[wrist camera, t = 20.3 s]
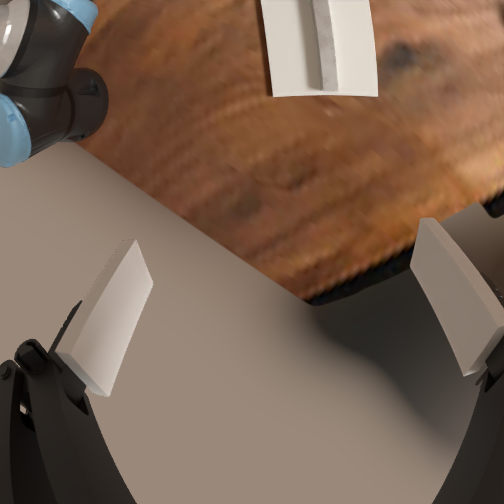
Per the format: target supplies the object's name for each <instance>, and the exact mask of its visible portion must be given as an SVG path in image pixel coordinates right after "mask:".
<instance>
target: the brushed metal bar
mask: <svg viewBox="0 0 504 504" xmlns="http://www.w3.org/2000/svg"><path fill="white" fill-rule="evenodd" d="M310 4H311V11H312V17H313V24H314V31H315V39H316V47H317V56H318V65H319V76H320V87H321V91H338V78H337V67H336V56H335V47H334V39H333V31H332V23H331V16H330V10H329V4H328V0H310Z"/></svg>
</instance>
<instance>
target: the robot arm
mask: <svg viewBox="0 0 504 504" xmlns="http://www.w3.org/2000/svg"><path fill="white" fill-rule="evenodd" d="M97 14H98V9H97V7H96V5H95V4H94V3H93V2H91V1H89V0H13V1H11V2H10V3H9V4H7V5H0V167H4V168H7V167H11V166H13V165H15V164H17V163H19V162H24V161H25V160H27V159H28V158H30V157H32V156H33V155H35V154H37V153H39V152H40V151H42V150H44V149H46V148H48V147H49V146H51V145H53V144H55V143H57V142H77V141H81V140H83V139H85V138H87V137H89V136H91V135H92V134H94V133H95V132H96V131H97V130H98V129H99V128H100V126H101V125H102V123H103V121H104V119H105V117H106V114H107V110H108V91H107V87H106V85H105V82H104V81H103V79H102V78H101V76H100V75H99V74H98V73H97V72H95V71H93V70H91V69H88V68H75V69H73V67H74V65H75V63H76V60H77V58H78V55H79V53H80V51H81V49H82V46H83V44H84V42H85V40H86V38H87V36H88V35H89V34H90V32H91V27H92V25H93V23H94V21H95V19H96V17H97ZM410 267H411V269H412V271H413V272H414V274H415V276H416V278H417V280H418V281H419V283H420V285H421V287H422V289H423V290H424V292H425V294H426V296H427V298H428V299H429V302H430V303H431V305H432V307H433V309H434V311H435V313H436V315H437V317H438V319H439V321H440V323H441V325H442V327H443V329H444V332H445V334H446V336H447V338H448V340H449V342H450V345H451V347H452V349H453V351H454V354H455V356H456V359H457V361H458V363H459V366H460V368H461V371H462V373H463V376H466V375H468V374H472V373H474V372H477V371H478V370H479V369H480V368H481V367H482V365H483V364H484V363H485V362H486V364H487V367H488V368H487V370H486V371H485V372H484V373H483V374H482V375H481V377H480V378H479V379H478V380H477V382H476V385H478V384H479V383H480V382H481V381H482V380H483V381H482V385H481V388H480V392H479V396H478V399H477V403H476V406H475V409H474V412H473V415H472V418H471V421H470V424H469V427H468V429H467V432H466V435H465V437H464V440H463V442H462V445H461V447H460V450H459V452H458V454H457V456H456V459H455V461H454V463H453V465H452V468H451V469H450V472H449V473H448V476H447V477H446V479H445V482H444V484H443V485H442V487H441V489H440V491H439V493H438V495H437V496H436V498H435V500H434V501H433V503H432V504H504V298H502V295H501V293H500V292H499V291H498V290H497V287H496V286H495V285H494V283H493V282H492V281H491V280H490V279H489V278H488V277H487V276H486V275H484V274H483V273H479V272H478V271H477V269H476V268H475V267H474V265H473V264H472V263H471V261H470V260H469V259H468V258H467V256H466V255H465V254H464V253H463V252H462V250H461V249H460V248H459V246H458V245H457V244H456V243H455V242H454V240H453V239H452V238H451V237H450V236H449V235H448V233H447V232H446V231H445V230H444V229H443V228H442V227H441V225H440V224H439V223H438V222H437V221H436V220H435V219H434V218H420V223H419V229H418V233H417V238H416V243H415V247H414V252H413V256H412V260H411V264H410ZM152 286H153V281H152V279H151V276H150V274H149V271H148V269H147V266H146V264H145V261H144V259H143V256H142V253H141V251H140V248H139V245H138V243H137V240H136V239H130V240H123V241H122V242H121V243H120V245H119V246H118V248H117V249H116V251H115V252H114V254H113V255H112V257H111V258H110V259H109V261H108V262H107V264H106V265H105V267H104V268H103V270H102V272H101V273H100V274H99V276H98V278H97V279H96V281H95V282H94V284H93V285H92V287H91V288H90V290H89V292H88V293H87V295H86V297H85V298H84V300H83V301H80V302H79V303H78V304H77V305H76V306H75V307H74V308H73V309H72V311H71V312H70V314H69V315H68V317H67V320H66V321H65V322H64V324H63V327H62V328H61V329H60V331H59V333H58V335H57V337H56V338H55V340H54V342H53V344H52V346H51V348H50V350H49V351H48V353H47V352H46V351H45V349H44V348H43V347H42V346H41V344H40V343H39V342H38V341H37V340H35V339H29V340H27V341H25V342H23V343H22V344H21V345H20V346H19V348H18V349H17V351H16V353H15V357H14V360H15V361H16V362H17V363H18V365H19V366H20V367H18V365H17V364H16V363H15V362H14V361H12V360H7V361H5V362H3V363H2V364H1V365H0V504H137V503H136V502H135V500H134V498H133V497H132V495H131V493H130V491H129V489H128V488H127V486H126V484H125V482H124V480H123V478H122V476H121V475H120V473H119V471H118V469H117V467H116V465H115V463H114V460H113V458H112V456H111V454H110V452H109V450H108V447H107V445H106V443H105V441H104V438H103V436H102V433H101V431H100V429H99V426H98V423H97V421H96V418H95V416H94V413H93V410H92V408H91V404H90V402H89V399H88V396H87V395H86V393H85V392H84V390H85V388H86V386H87V387H88V388H89V389H90V390H91V391H92V392H93V393H94V394H98V395H102V396H107V397H109V396H110V393H111V390H112V387H113V385H114V381H115V379H116V376H117V373H118V370H119V368H120V365H121V362H122V360H123V357H124V354H125V352H126V349H127V346H128V344H129V341H130V339H131V336H132V334H133V331H134V329H135V326H136V324H137V322H138V319H139V317H140V314H141V312H142V310H143V307H144V305H145V302H146V300H147V298H148V296H149V293H150V291H151V289H152ZM20 404H21V405H22V406H23V407H25V408H26V413H25V414H24V413H22V412H21V411H20Z"/></svg>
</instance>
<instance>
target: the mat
mask: <svg viewBox="0 0 504 504" xmlns="http://www.w3.org/2000/svg"><path fill="white" fill-rule="evenodd" d="M328 4H329V10H330V16H331V23H332V31H333V39H334V47H335V56H336V67H337V78H338V91H321V87H320V76H319V65H318V56H317V47H316V39H315V31H314V24H313V17H312V11H311V4H310V0H261V6H262V12H263V19H264V26H265V34H266V41H267V49H268V57H269V65H270V73H271V82H272V91H273V97H281V96H300V95H357V96H376V97H378V82H377V66H376V53H375V43H374V34H373V26H372V19H371V12H370V6H369V0H328Z"/></svg>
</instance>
